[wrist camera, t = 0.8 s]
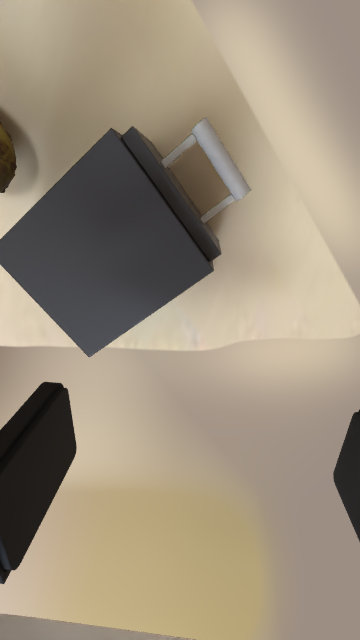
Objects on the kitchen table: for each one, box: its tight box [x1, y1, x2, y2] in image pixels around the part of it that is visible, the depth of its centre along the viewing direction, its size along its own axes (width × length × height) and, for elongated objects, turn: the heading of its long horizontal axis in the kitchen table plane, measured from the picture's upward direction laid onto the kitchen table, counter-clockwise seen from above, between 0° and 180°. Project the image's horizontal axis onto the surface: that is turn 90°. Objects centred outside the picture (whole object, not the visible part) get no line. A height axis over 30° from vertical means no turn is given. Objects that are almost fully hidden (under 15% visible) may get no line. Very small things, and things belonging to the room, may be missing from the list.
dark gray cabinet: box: [0, 128, 214, 357], centre depth 29 cm, size 15×13×9 cm
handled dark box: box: [121, 118, 251, 262], centre depth 27 cm, size 18×11×7 cm, turn 127°
